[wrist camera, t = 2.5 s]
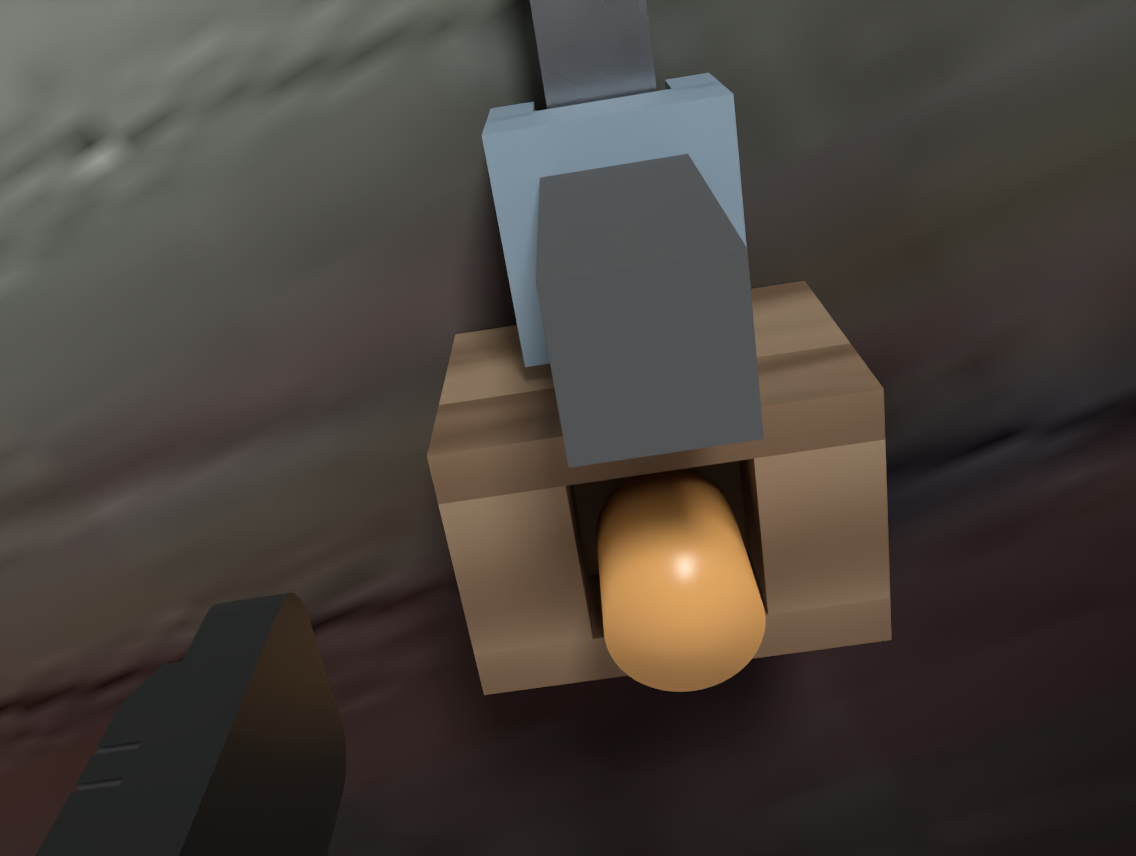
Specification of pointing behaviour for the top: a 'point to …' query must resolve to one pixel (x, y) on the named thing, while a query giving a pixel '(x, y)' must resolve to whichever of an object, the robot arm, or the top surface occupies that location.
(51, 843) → the robot arm
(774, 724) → the top surface
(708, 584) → the button
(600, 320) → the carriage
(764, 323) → the stand
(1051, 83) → the top surface
